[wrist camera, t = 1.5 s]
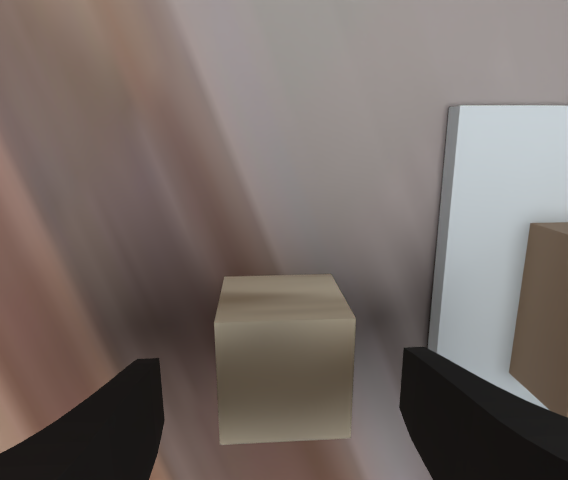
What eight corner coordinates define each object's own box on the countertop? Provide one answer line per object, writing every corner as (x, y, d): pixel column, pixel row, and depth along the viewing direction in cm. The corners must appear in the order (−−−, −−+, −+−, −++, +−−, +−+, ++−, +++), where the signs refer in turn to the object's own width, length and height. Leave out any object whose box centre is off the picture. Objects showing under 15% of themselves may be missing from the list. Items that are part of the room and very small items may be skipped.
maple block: (328, 367, 16) (350, 438, 13) (228, 371, 16) (219, 444, 12) (330, 273, 16) (355, 318, 12) (224, 275, 15) (214, 323, 11)
